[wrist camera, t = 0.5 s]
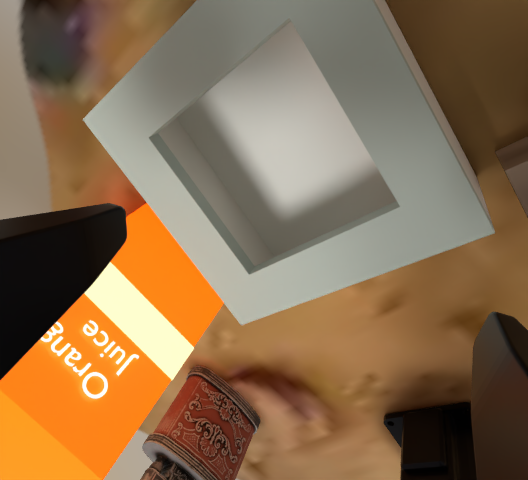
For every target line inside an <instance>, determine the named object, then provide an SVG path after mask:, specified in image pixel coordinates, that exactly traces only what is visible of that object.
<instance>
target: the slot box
mask: <svg viewBox="0 0 528 480" xmlns="http://www.w3.org/2000/svg"><path fill="white" fill-rule="evenodd" d="M83 121H84V122H85V123H86V124H87V126H88V127H89V128H90V130H91V131H92V132H93V134H94V135H95V136H96V137H97V139H98V140H99V141H100V143H101V144H102V145H103V147H104V148H105V149H106V150H107V152H108V153H109V154H110V156H111V157H112V158H113V160H114V161H115V162H116V163H117V165H118V166H119V167H120V169H121V170H122V171H123V173H124V174H125V175H126V176H127V178H128V179H129V180H130V182H131V183H132V184H133V185H134V187H135V188H136V189H137V191H138V192H139V193H140V195H141V196H142V197H143V198H144V200H145V201H146V202H147V204H148V205H149V206H150V208H151V209H152V210H153V211H154V213H155V214H156V215H157V217H158V218H159V219H160V221H161V222H162V223H163V224H164V226H165V227H166V228H167V230H168V231H169V232H170V233H171V235H172V236H173V237H174V239H175V240H176V241H177V243H178V244H179V245H180V246H181V248H182V249H183V250H184V252H185V253H186V254H187V256H188V257H189V258H190V259H191V261H192V262H193V263H194V265H195V266H196V267H197V269H198V270H199V271H200V272H201V274H202V275H203V276H204V278H205V279H206V280H207V281H208V283H209V284H210V285H211V287H212V288H213V289H214V291H215V292H216V293H217V294H218V296H219V297H220V298H221V300H222V301H223V302H224V304H225V305H226V306H227V307H228V309H229V310H230V311H231V313H232V314H233V315H234V317H235V318H236V319H237V320H238V322H239V323H240V324H241V325H243V324H246V323H249V322H252V321H254V320H257V319H260V318H263V317H265V316H268V315H271V314H274V313H276V312H279V311H282V310H285V309H287V308H290V307H293V306H296V305H298V304H301V303H304V302H307V301H309V300H312V299H315V298H318V297H320V296H323V295H326V294H329V293H331V292H334V291H337V290H340V289H342V288H345V287H348V286H351V285H353V284H356V283H359V282H362V281H364V280H367V279H370V278H373V277H375V276H378V275H381V274H384V273H386V272H389V271H392V270H395V269H397V268H400V267H403V266H406V265H408V264H411V263H414V262H417V261H419V260H422V259H425V258H428V257H430V256H433V255H436V254H439V253H441V252H444V251H447V250H450V249H453V248H455V247H458V246H461V245H464V244H466V243H469V242H472V241H475V240H477V239H480V238H483V237H486V236H488V235H491V234H494V233H495V231H494V228H493V224H492V221H491V218H490V215H489V212H488V209H487V206H486V203H485V200H484V197H483V194H482V191H481V188H480V185H479V182H478V179H477V177H476V175H475V173H474V171H473V169H472V167H471V165H470V163H469V161H468V159H467V157H466V155H465V153H464V152H463V150H462V148H461V146H460V144H459V142H458V140H457V138H456V136H455V134H454V132H453V130H452V128H451V127H450V125H449V123H448V121H447V119H446V117H445V115H444V113H443V111H442V109H441V107H440V105H439V103H438V101H437V100H436V98H435V96H434V94H433V92H432V90H431V88H430V86H429V84H428V82H427V80H426V78H425V76H424V75H423V73H422V71H421V69H420V67H419V65H418V63H417V61H416V59H415V57H414V55H413V53H412V51H411V49H410V48H409V46H408V44H407V42H406V40H405V38H404V36H403V34H402V32H401V30H400V28H399V26H398V24H397V23H396V21H395V19H394V17H393V15H392V13H391V11H390V9H389V7H388V5H387V3H386V1H385V0H197V1H196V2H195V3H194V4H193V5H192V6H191V7H190V8H189V9H188V10H187V11H186V12H185V13H184V14H183V15H182V16H181V18H180V19H179V20H178V21H177V22H176V23H175V24H174V25H173V26H172V27H171V28H170V29H169V30H168V31H167V32H166V33H165V34H164V35H163V36H162V37H161V38H160V39H159V40H158V42H157V43H156V44H155V45H154V46H153V47H152V48H151V49H150V50H149V51H148V52H147V53H146V54H145V55H144V56H143V57H142V58H141V59H140V60H139V61H138V62H137V63H136V64H135V66H134V67H133V68H132V69H131V70H130V71H129V72H128V73H127V74H126V75H125V76H124V77H123V78H122V79H121V80H120V81H119V82H118V83H117V84H116V85H115V86H114V87H113V89H112V90H111V91H110V92H109V93H108V94H107V95H106V96H105V97H104V98H103V99H102V100H101V101H100V102H99V103H98V104H97V105H96V106H95V107H94V108H93V109H92V110H91V111H90V113H89V114H88V115H87V116H86V117H85V118H84V119H83Z"/></svg>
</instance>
